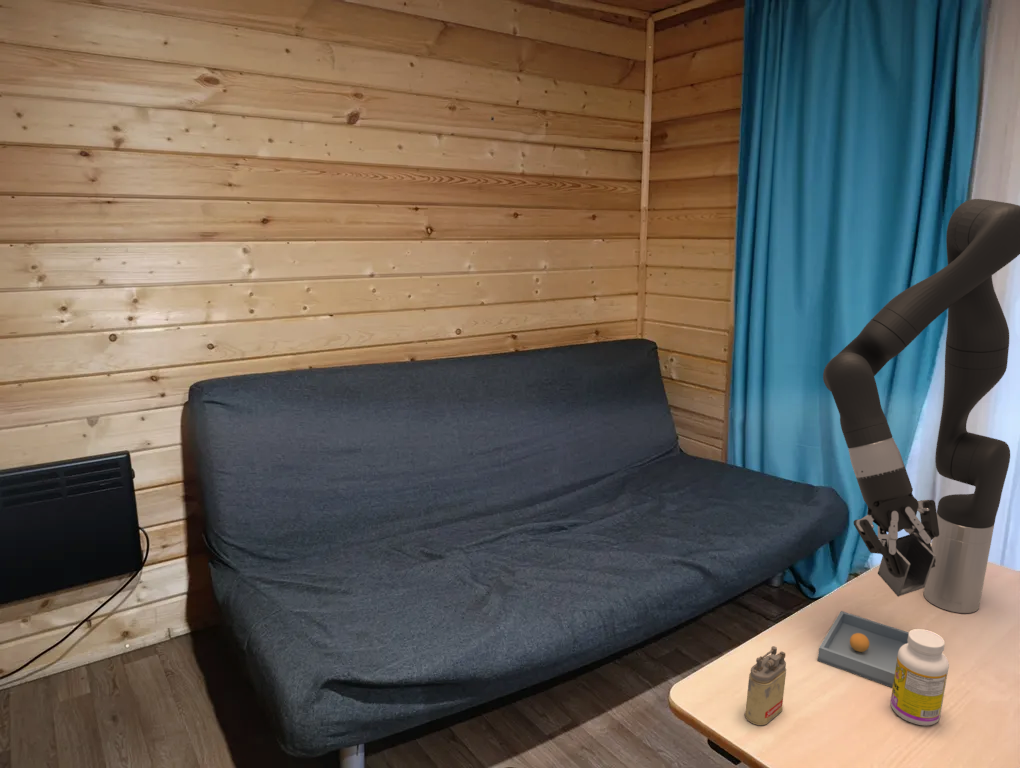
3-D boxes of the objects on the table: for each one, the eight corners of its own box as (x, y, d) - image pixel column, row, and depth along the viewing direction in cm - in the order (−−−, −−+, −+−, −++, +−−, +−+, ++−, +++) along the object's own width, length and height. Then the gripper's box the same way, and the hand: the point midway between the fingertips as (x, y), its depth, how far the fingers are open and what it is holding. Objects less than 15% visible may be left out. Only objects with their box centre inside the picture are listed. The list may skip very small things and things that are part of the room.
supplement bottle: (895, 691, 116) (907, 619, 112) (943, 710, 112) (956, 635, 108) (884, 714, 111) (896, 639, 107) (934, 734, 107) (948, 657, 103)
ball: (867, 640, 122) (863, 657, 123) (873, 636, 124) (869, 652, 125) (849, 632, 124) (845, 648, 125) (856, 628, 127) (851, 644, 127)
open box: (877, 573, 125) (886, 541, 120) (903, 565, 126) (913, 533, 121) (897, 596, 121) (908, 564, 116) (924, 587, 122) (935, 555, 117)
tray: (839, 622, 134) (840, 610, 133) (913, 647, 127) (915, 634, 126) (817, 660, 123) (819, 647, 123) (896, 689, 116) (898, 675, 116)
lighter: (760, 729, 108) (767, 670, 105) (738, 715, 110) (743, 657, 108) (786, 708, 112) (793, 650, 109) (764, 695, 115) (770, 639, 112)
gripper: (854, 479, 117) (890, 586, 114) (932, 456, 119) (969, 561, 117) (828, 482, 124) (861, 582, 122) (902, 460, 126) (937, 559, 124)
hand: (914, 571), depth 119 cm, fingers closed on open box, 5 cm apart
